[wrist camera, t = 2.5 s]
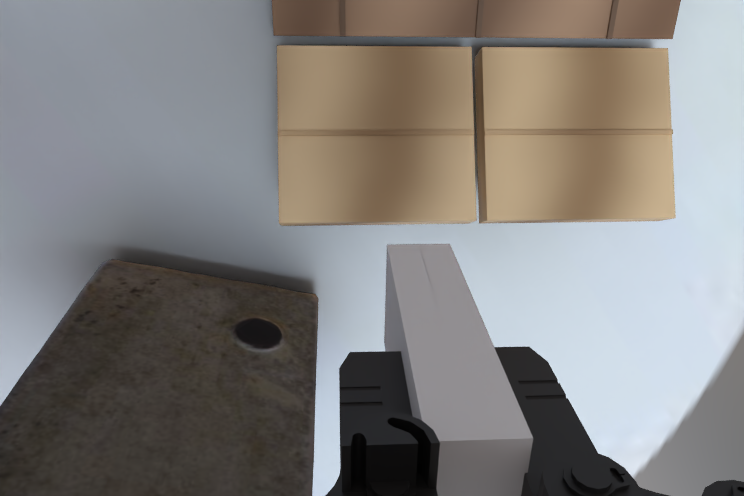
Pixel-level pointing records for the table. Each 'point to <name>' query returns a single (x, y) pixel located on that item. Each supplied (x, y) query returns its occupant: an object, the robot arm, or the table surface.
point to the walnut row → (477, 18)
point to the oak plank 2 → (573, 135)
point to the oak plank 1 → (375, 135)
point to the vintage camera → (167, 391)
